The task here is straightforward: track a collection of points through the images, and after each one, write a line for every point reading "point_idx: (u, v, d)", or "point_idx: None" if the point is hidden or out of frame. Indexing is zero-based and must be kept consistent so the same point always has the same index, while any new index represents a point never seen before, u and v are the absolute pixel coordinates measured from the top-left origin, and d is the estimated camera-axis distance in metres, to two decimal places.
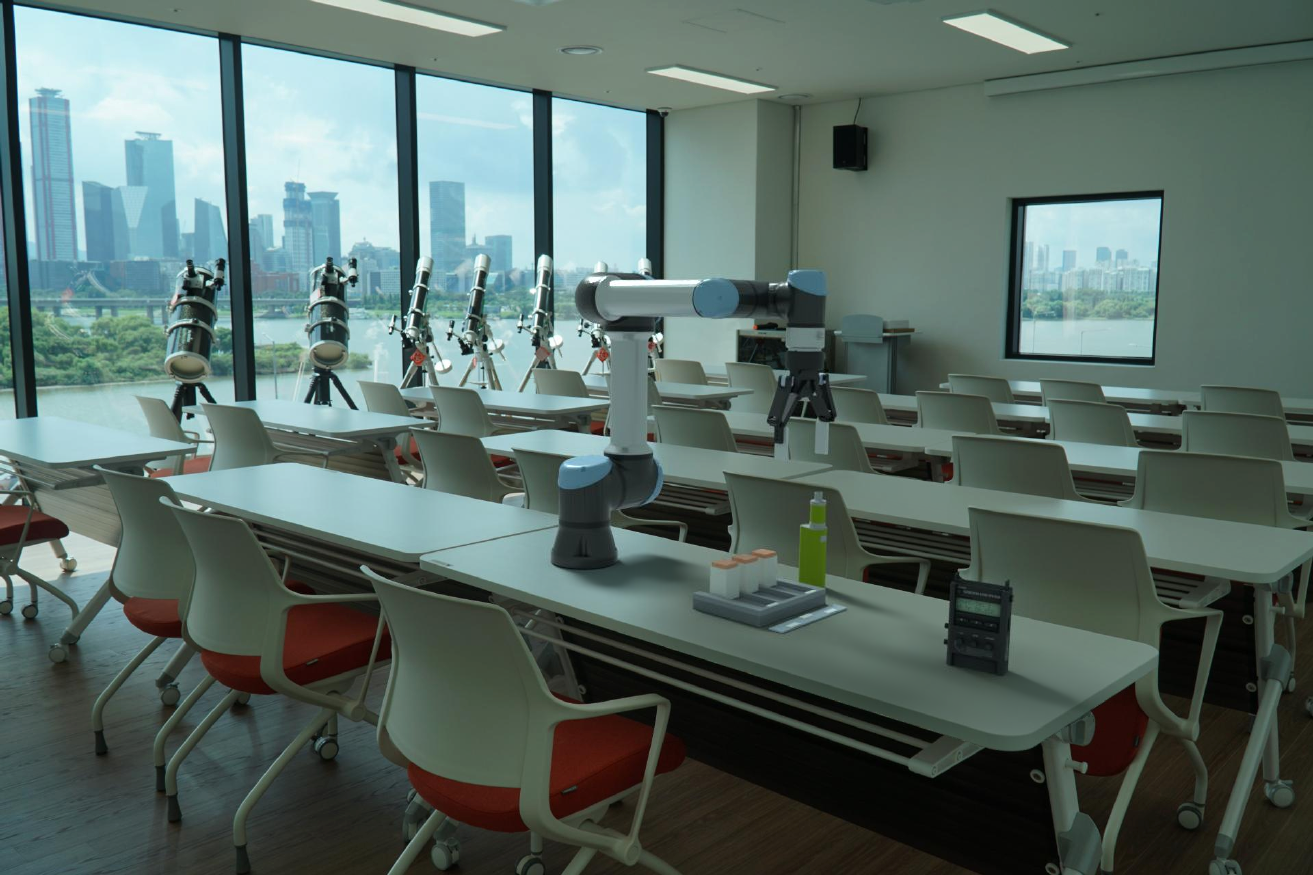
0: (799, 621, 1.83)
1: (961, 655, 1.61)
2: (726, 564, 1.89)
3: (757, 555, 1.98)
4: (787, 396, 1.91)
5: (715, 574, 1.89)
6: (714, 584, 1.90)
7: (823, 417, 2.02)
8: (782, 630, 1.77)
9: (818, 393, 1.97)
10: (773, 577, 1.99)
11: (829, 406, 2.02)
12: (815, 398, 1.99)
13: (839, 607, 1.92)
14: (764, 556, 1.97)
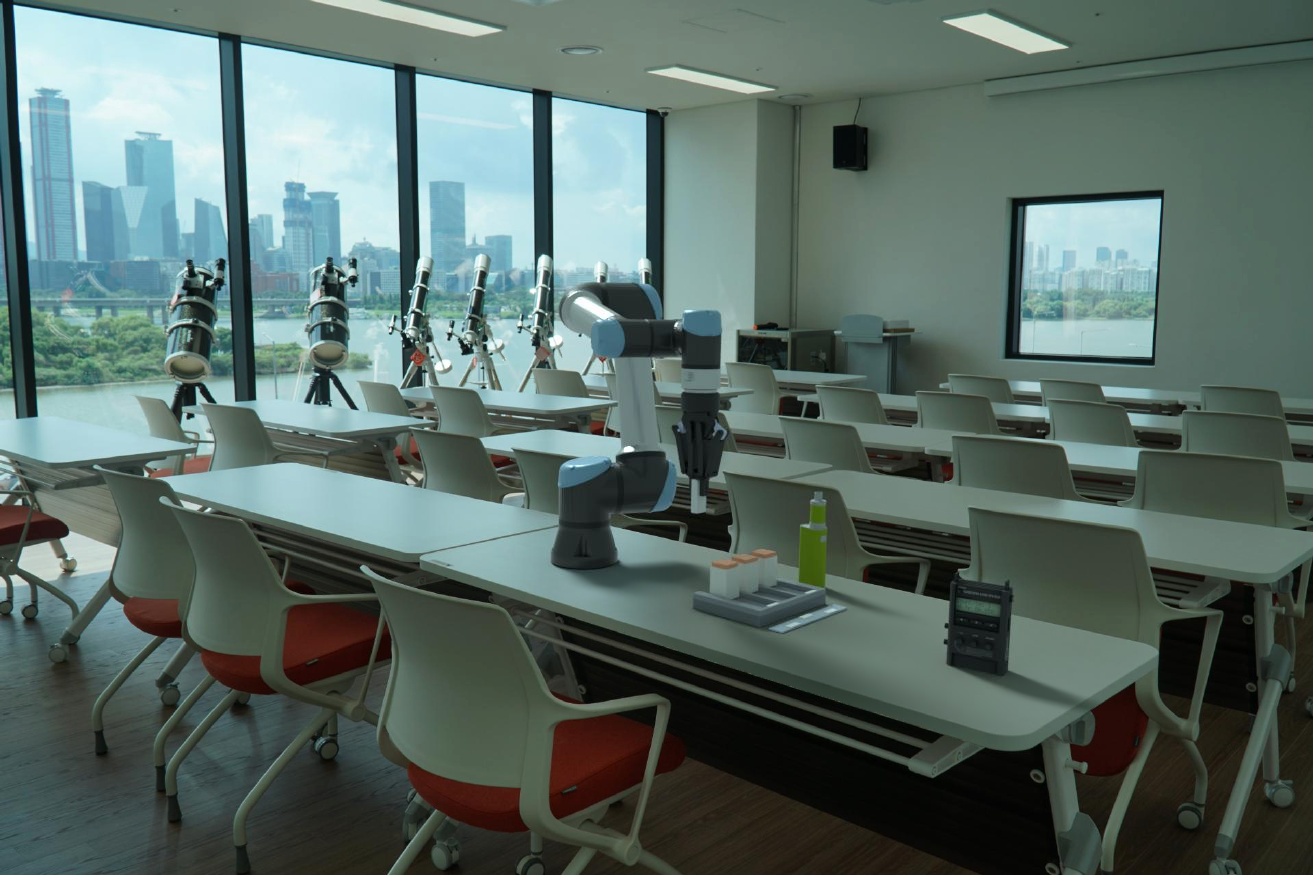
0: (799, 621, 1.83)
1: (961, 655, 1.61)
2: (726, 564, 1.89)
3: (757, 555, 1.98)
4: (679, 443, 1.94)
5: (715, 574, 1.89)
6: (714, 584, 1.90)
7: None
8: (782, 630, 1.77)
9: (697, 438, 1.90)
10: (773, 577, 1.99)
11: None
12: None
13: (839, 607, 1.92)
14: (764, 556, 1.97)
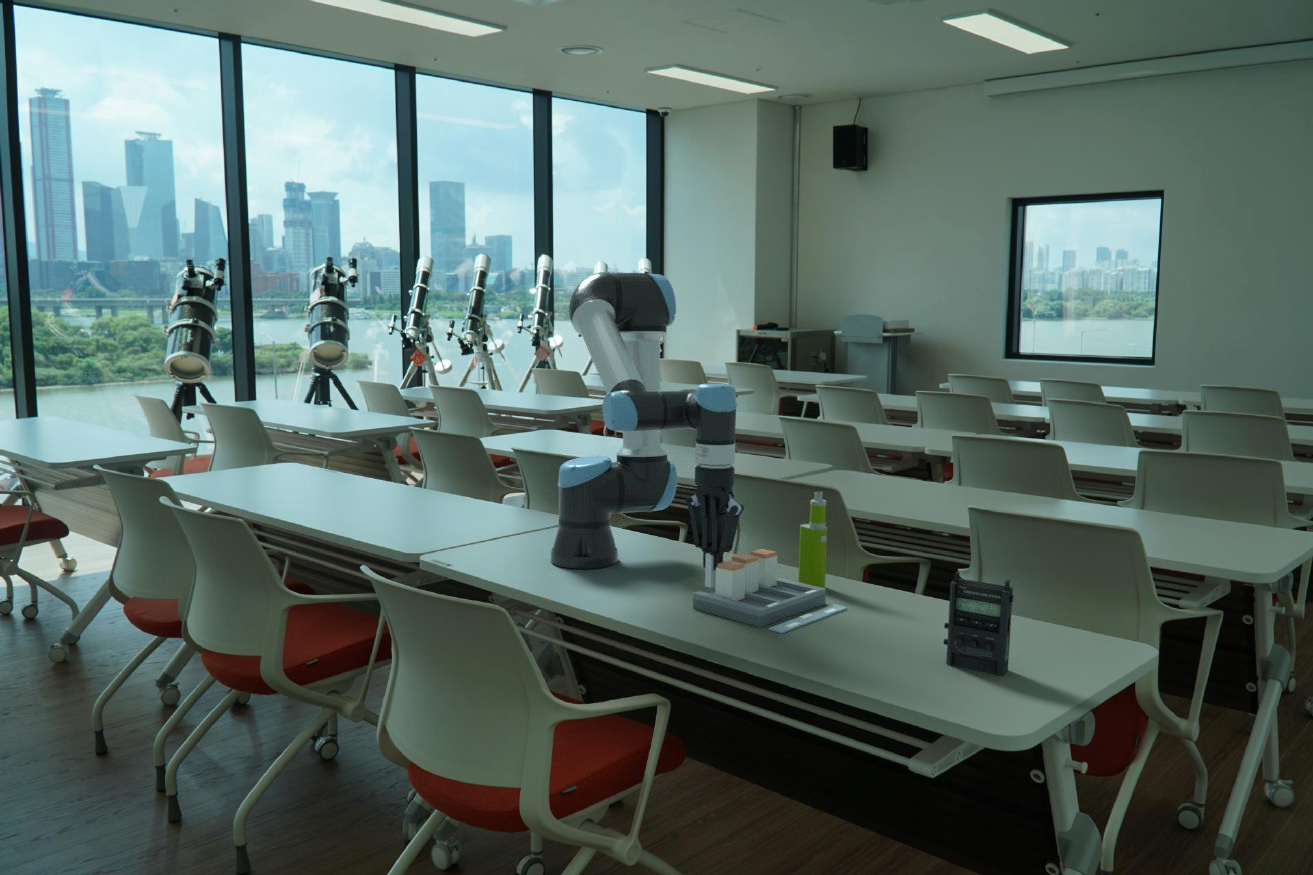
0: (799, 621, 1.83)
1: (961, 655, 1.61)
2: (732, 565, 1.88)
3: (757, 555, 1.98)
4: (693, 516, 1.93)
5: (721, 575, 1.89)
6: (720, 586, 1.89)
7: None
8: (782, 630, 1.77)
9: (711, 513, 1.89)
10: (773, 577, 1.99)
11: None
12: None
13: (839, 607, 1.92)
14: (764, 556, 1.97)
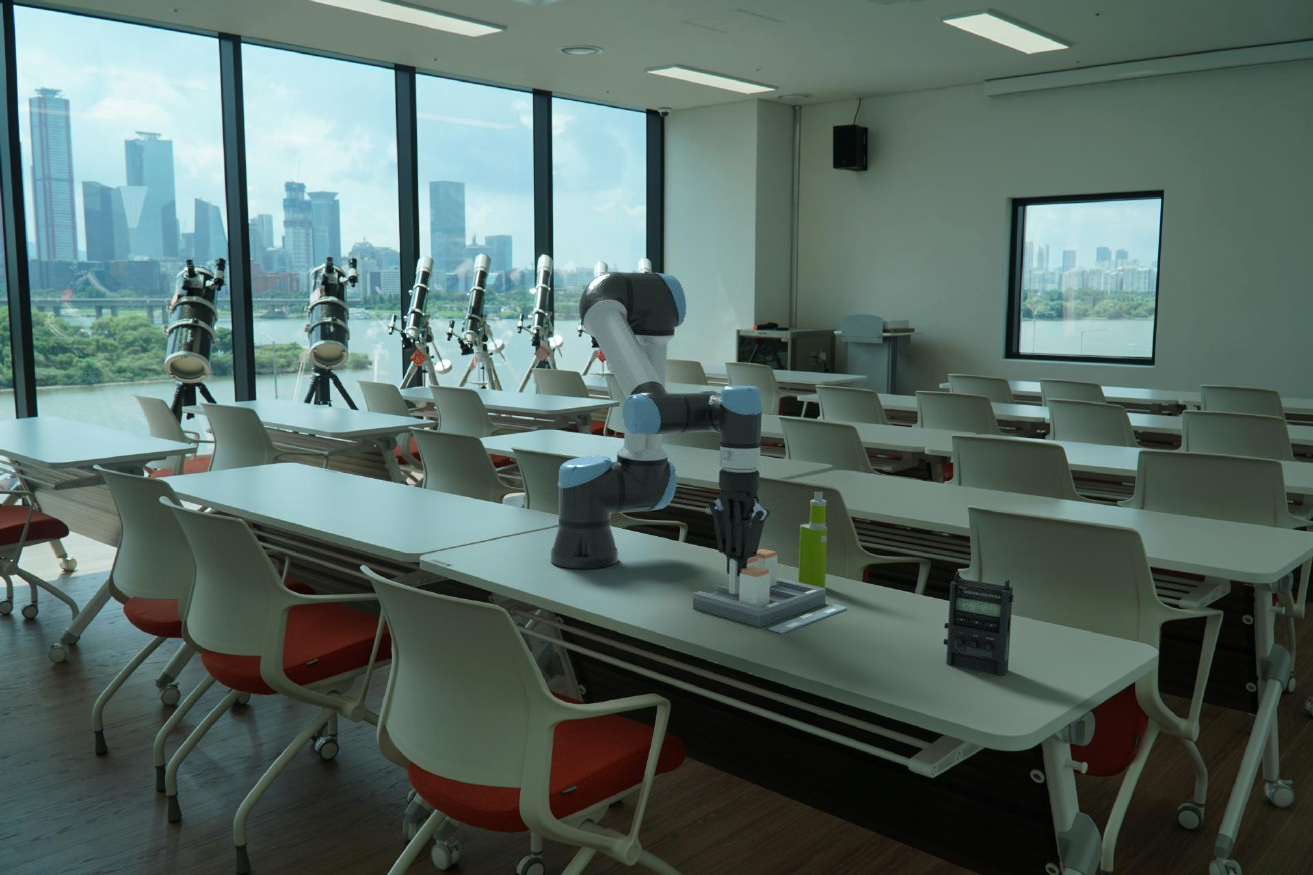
0: (799, 621, 1.83)
1: (961, 655, 1.61)
2: (756, 571, 1.84)
3: (757, 555, 1.98)
4: (716, 521, 1.89)
5: (745, 581, 1.85)
6: (744, 592, 1.85)
7: None
8: (782, 630, 1.77)
9: (736, 518, 1.85)
10: (773, 577, 1.99)
11: None
12: None
13: (839, 607, 1.92)
14: (764, 556, 1.97)
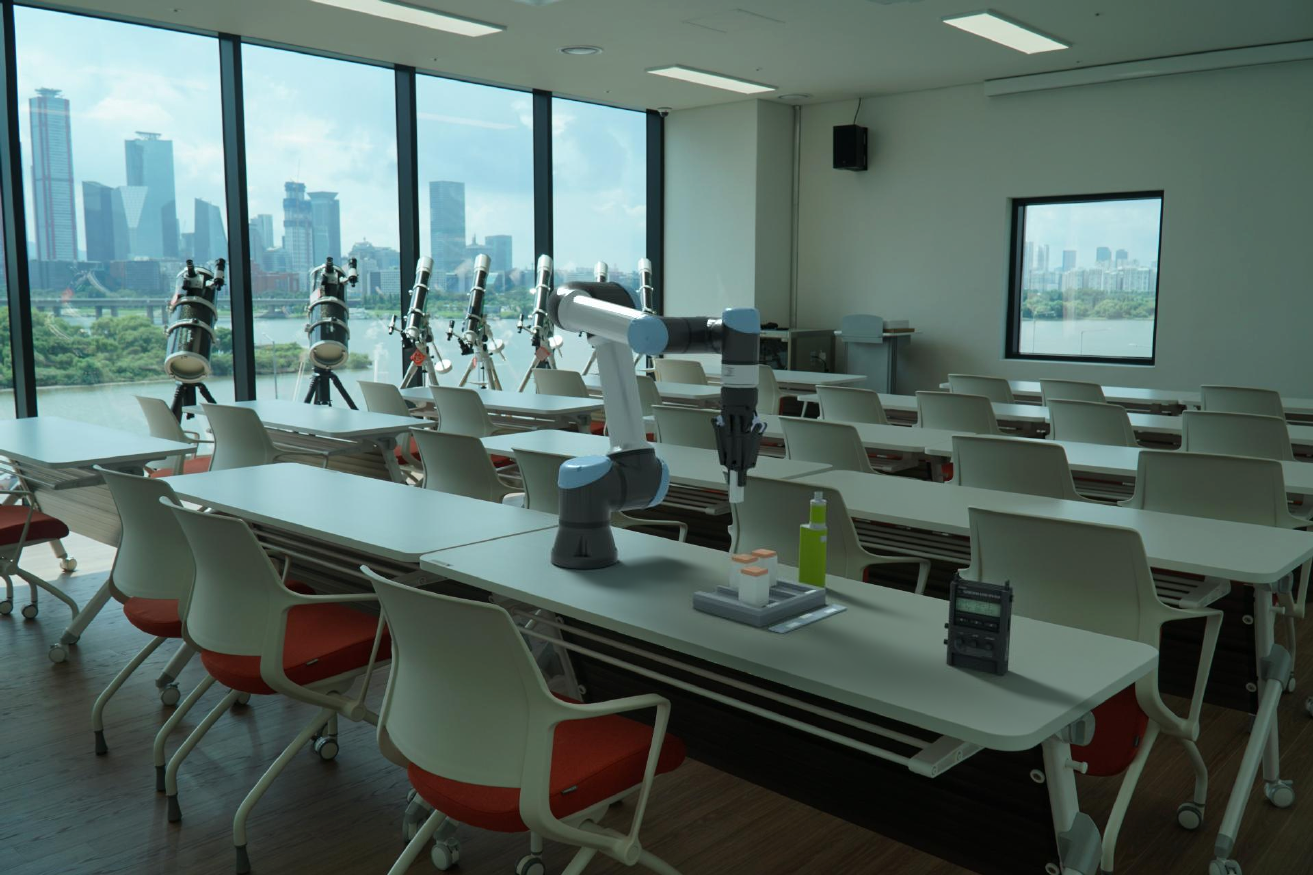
0: (799, 621, 1.83)
1: (961, 655, 1.61)
2: (756, 571, 1.84)
3: (757, 555, 1.98)
4: (718, 436, 2.02)
5: (744, 581, 1.85)
6: (743, 592, 1.85)
7: None
8: (782, 630, 1.77)
9: (736, 431, 1.98)
10: (773, 577, 1.99)
11: None
12: None
13: (839, 607, 1.92)
14: (764, 556, 1.97)
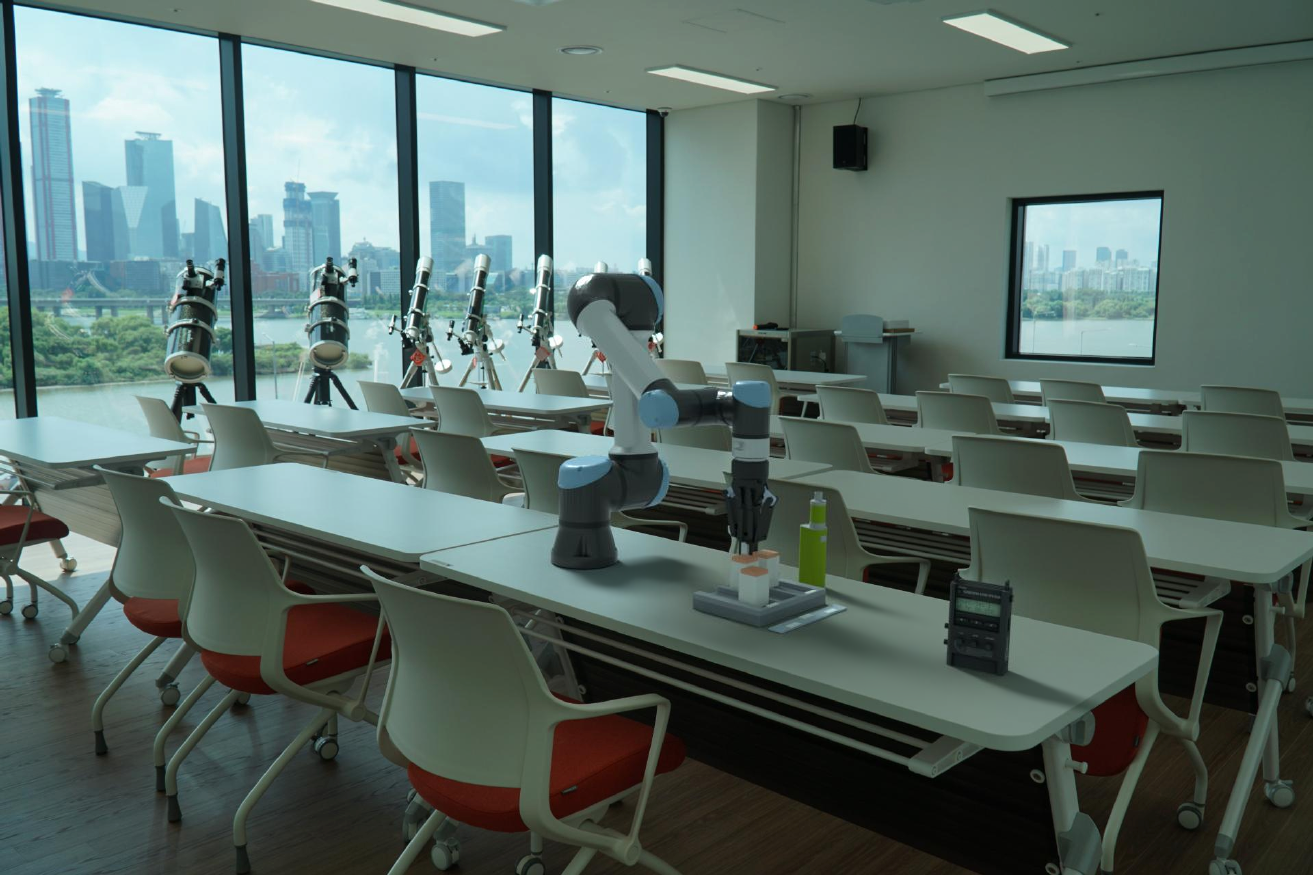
0: (799, 621, 1.83)
1: (961, 655, 1.61)
2: (756, 571, 1.84)
3: (759, 555, 1.97)
4: (729, 507, 2.02)
5: (744, 581, 1.85)
6: (743, 592, 1.85)
7: None
8: (782, 630, 1.77)
9: (747, 504, 1.98)
10: (775, 577, 1.98)
11: None
12: None
13: (839, 607, 1.92)
14: (766, 556, 1.96)
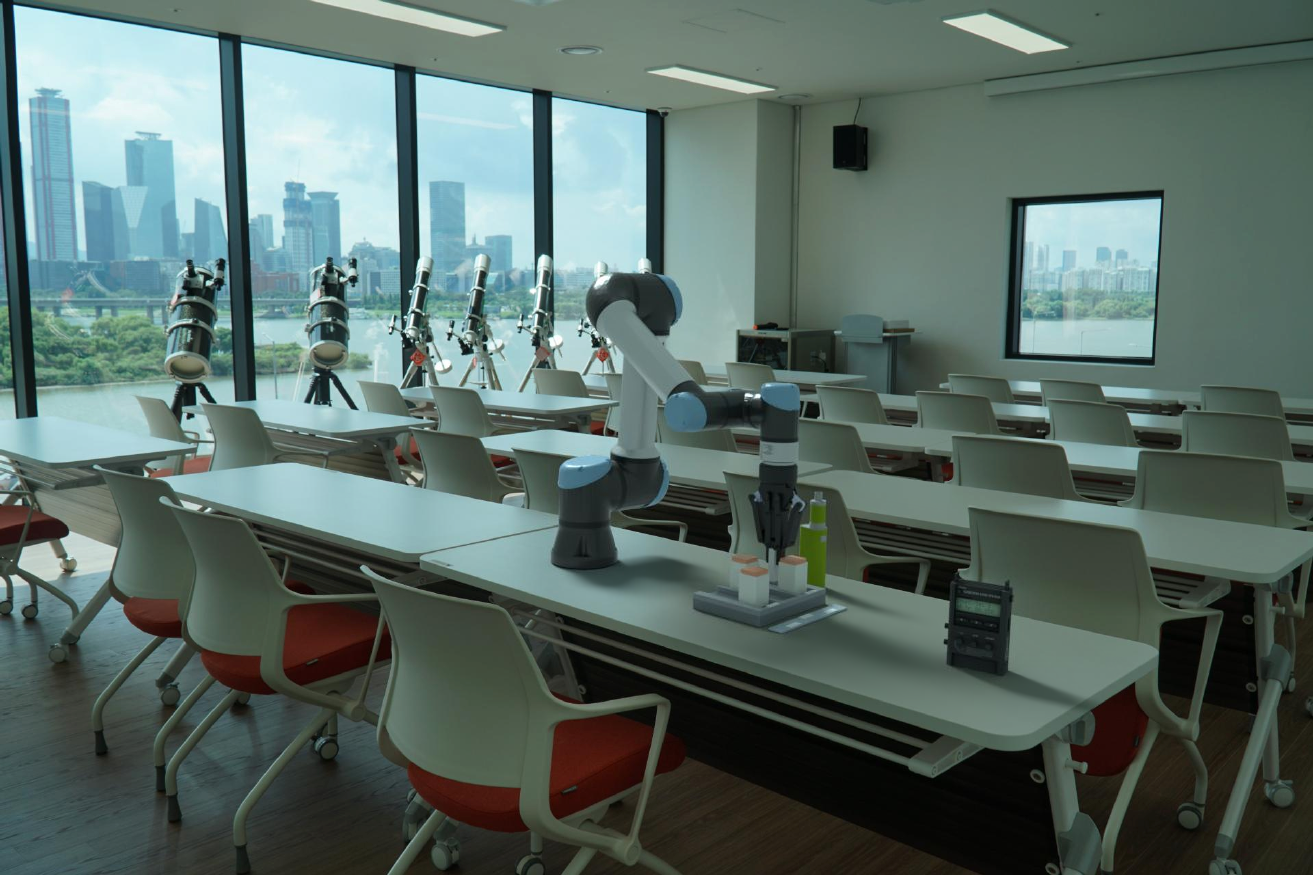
0: (799, 621, 1.83)
1: (961, 655, 1.61)
2: (756, 571, 1.84)
3: (787, 562, 1.93)
4: (756, 512, 1.98)
5: (744, 581, 1.85)
6: (743, 592, 1.85)
7: None
8: (782, 630, 1.77)
9: (775, 509, 1.94)
10: (803, 584, 1.94)
11: None
12: None
13: (839, 607, 1.92)
14: (794, 563, 1.92)
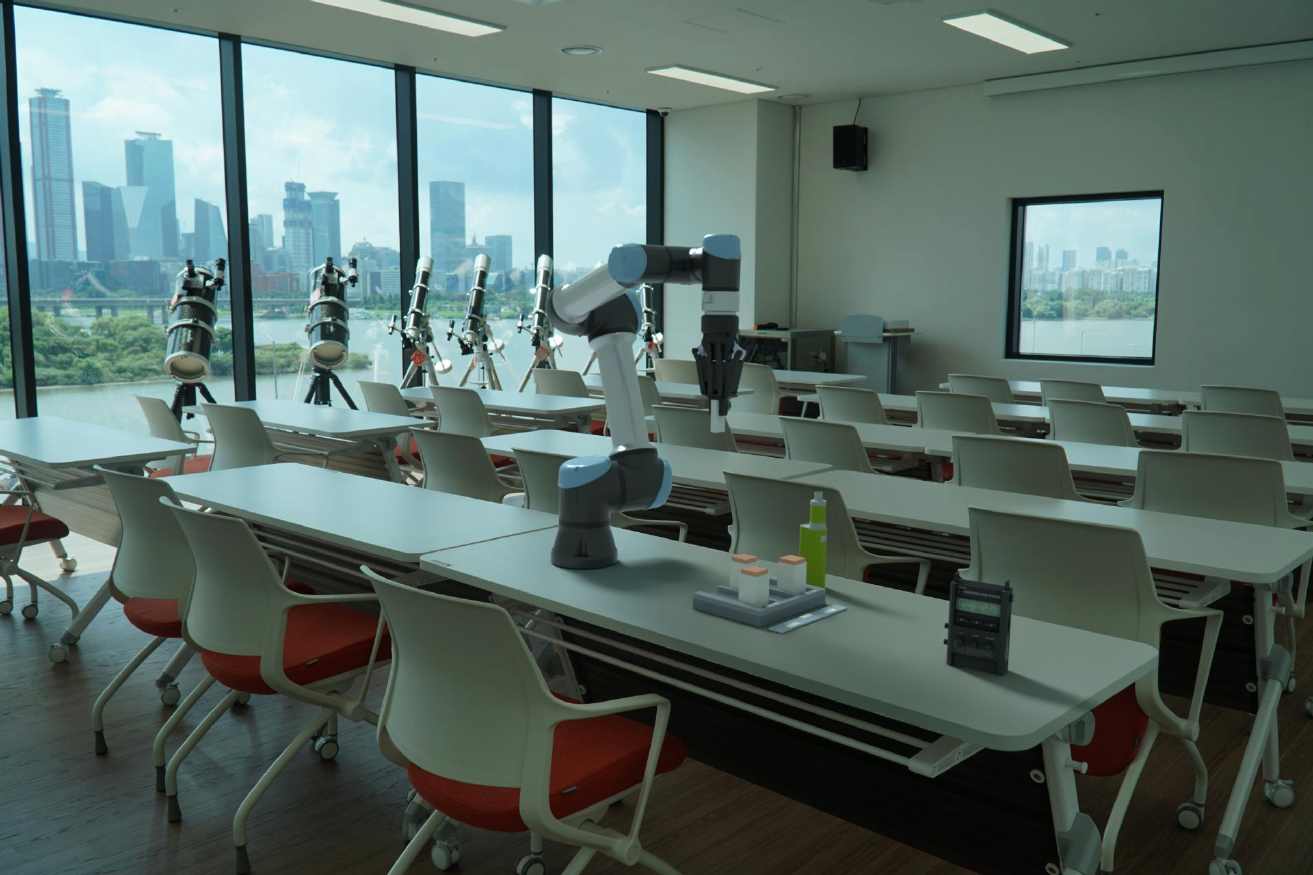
0: (799, 621, 1.83)
1: (961, 655, 1.61)
2: (756, 571, 1.84)
3: (786, 561, 1.93)
4: (699, 365, 2.01)
5: (744, 581, 1.85)
6: (743, 592, 1.85)
7: None
8: (782, 630, 1.77)
9: (717, 359, 1.97)
10: (802, 584, 1.94)
11: None
12: None
13: (839, 607, 1.92)
14: (793, 563, 1.92)
